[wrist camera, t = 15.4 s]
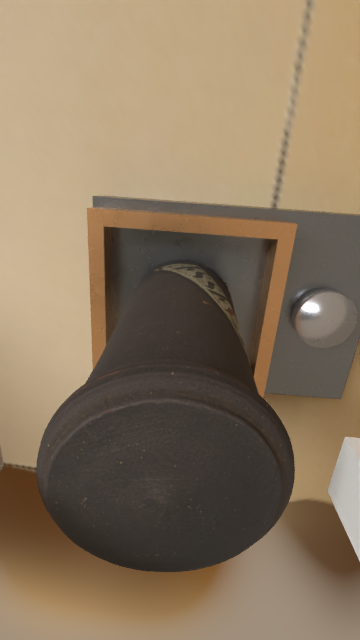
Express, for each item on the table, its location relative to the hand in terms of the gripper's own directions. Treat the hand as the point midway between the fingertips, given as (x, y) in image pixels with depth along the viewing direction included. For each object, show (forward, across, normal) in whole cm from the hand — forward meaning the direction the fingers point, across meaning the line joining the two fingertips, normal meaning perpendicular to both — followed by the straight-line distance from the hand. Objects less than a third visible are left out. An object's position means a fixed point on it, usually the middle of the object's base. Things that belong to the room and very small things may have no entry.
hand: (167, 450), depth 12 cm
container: (+18, 0, 0) cm, 18 cm away
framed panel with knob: (+21, +4, 0) cm, 22 cm away
